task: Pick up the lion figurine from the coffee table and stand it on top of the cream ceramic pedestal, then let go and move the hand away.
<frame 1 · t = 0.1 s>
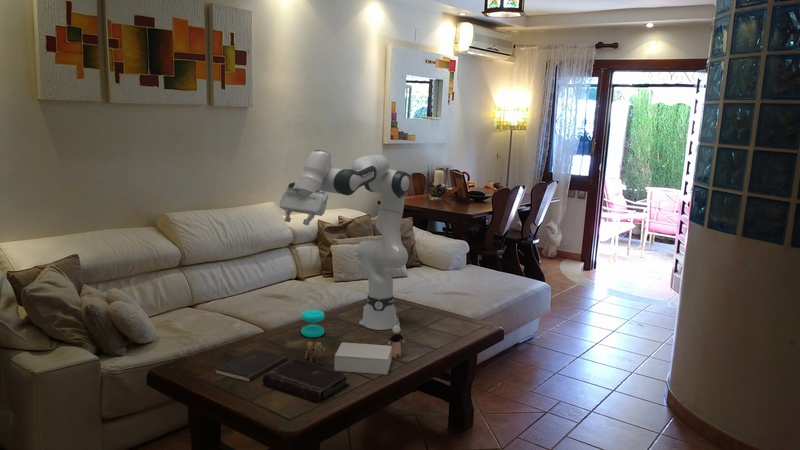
hand: (296, 223, 232), 54 cm above the table, tool tilted 30°, fingers open, 8 cm apart
grandmother figurine: (395, 356, 251), on the table
hardcover book: (252, 368, 235), on the table
lion figurine: (313, 361, 243), on the table
donuts: (312, 334, 272), on the table
diary: (307, 386, 221), on the table
pedestal: (363, 365, 240), on the table
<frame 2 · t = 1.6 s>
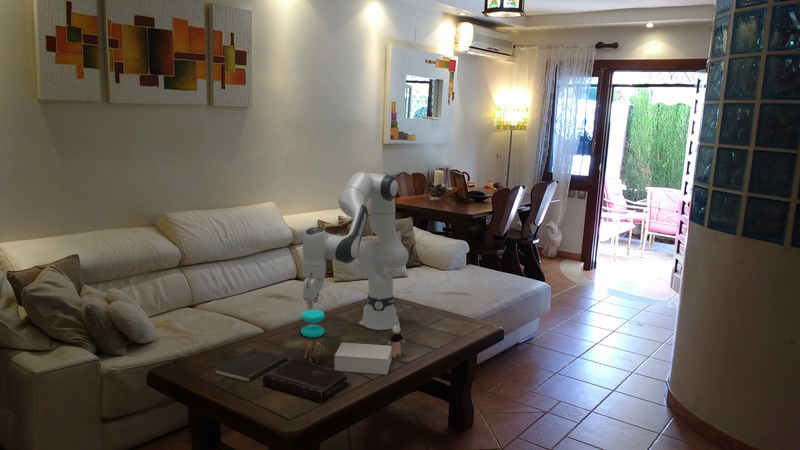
hand: (312, 305, 239), 22 cm above the table, tool pointing down, fingers open, 8 cm apart
nothing on the table moved.
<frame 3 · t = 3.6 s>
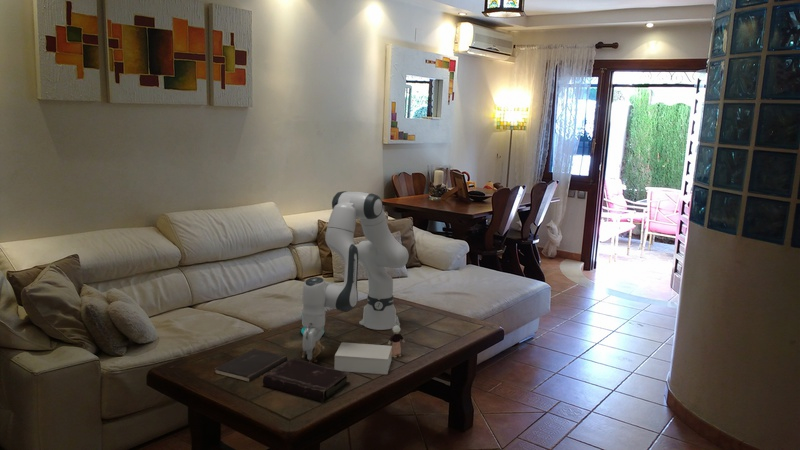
hand: (312, 354, 242), 3 cm above the table, tool pointing down, fingers open, 8 cm apart
lion figurine: (311, 360, 244), on the table, touching gripper
everything else where it was.
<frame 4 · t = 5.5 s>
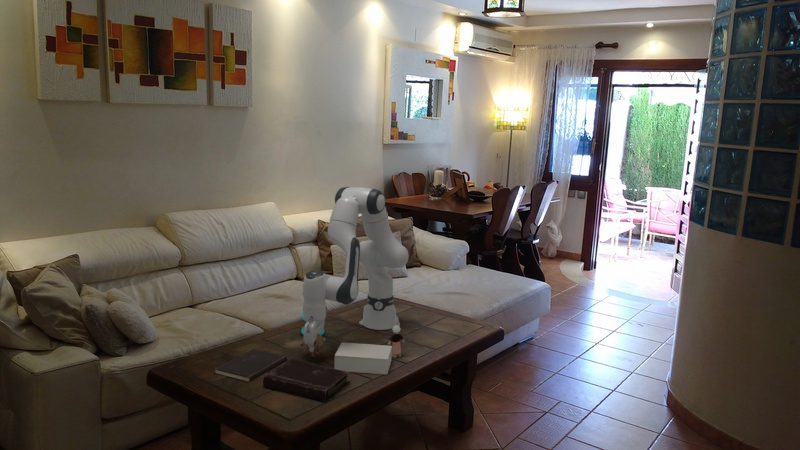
hand: (314, 346, 242), 5 cm above the table, tool pointing down, fingers closed on lion figurine, 7 cm apart
lion figurine: (313, 352, 245), point 2 cm above the table, touching gripper
everything else where it was.
when the fingers open (10 cm above the table, at t = 11.0 s): lion figurine moves 1 cm, resting on pedestal.
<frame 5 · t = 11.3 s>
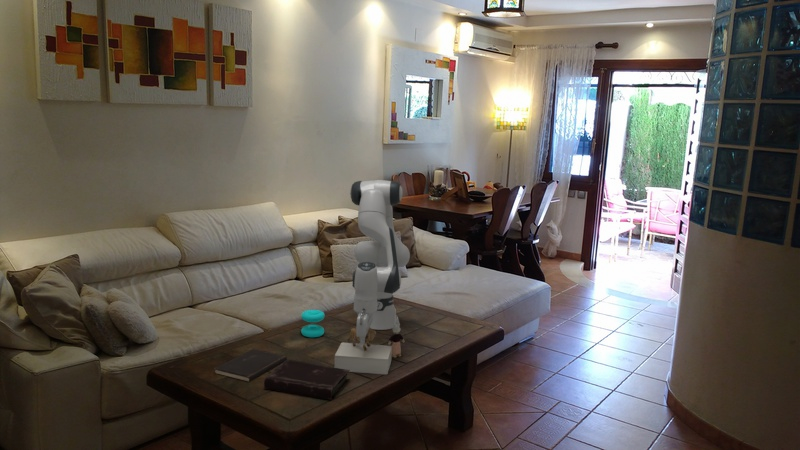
hand: (364, 340, 238), 10 cm above the table, tool pointing down, fingers open, 8 cm apart
lion figurine: (363, 345, 242), point 6 cm above the table, touching gripper, pedestal
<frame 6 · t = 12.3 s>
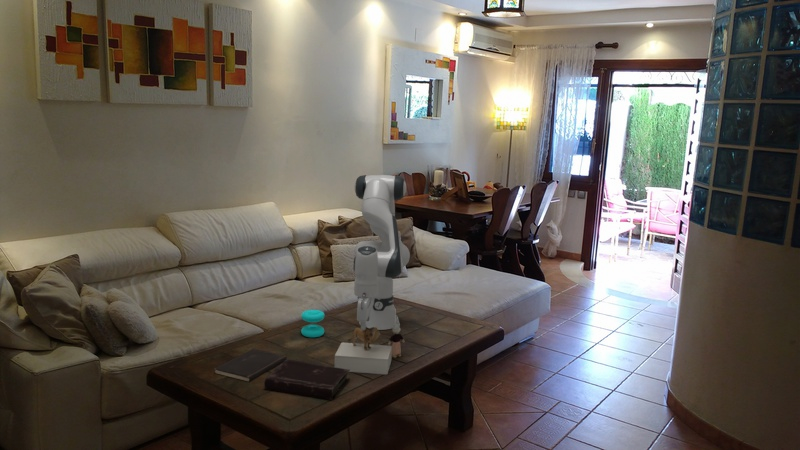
hand: (365, 324, 237), 16 cm above the table, tool pointing down, fingers open, 8 cm apart
lion figurine: (363, 347, 242), point 6 cm above the table, touching pedestal
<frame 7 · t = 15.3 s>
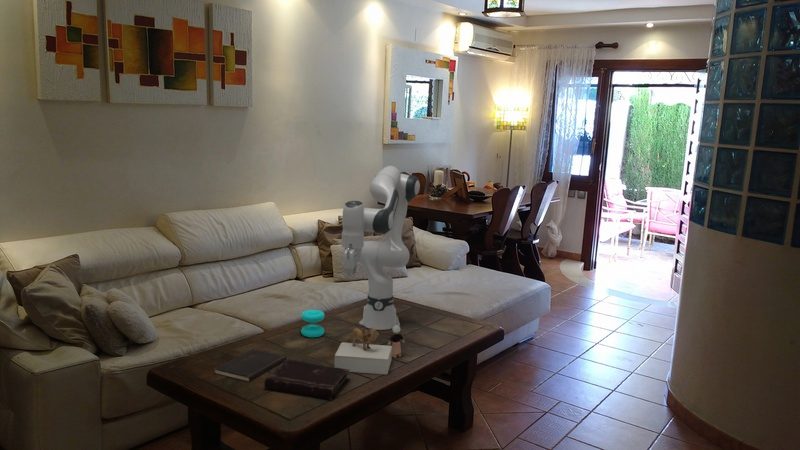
hand: (351, 276, 250), 31 cm above the table, tool pointing down, fingers open, 8 cm apart
nothing on the table moved.
at the end: lion figurine inside the target area on the pedestal (3.7 cm from its centre), point 5.8 cm above the pedestal's base; lion figurine tilted 0°; lion figurine touching pedestal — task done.
